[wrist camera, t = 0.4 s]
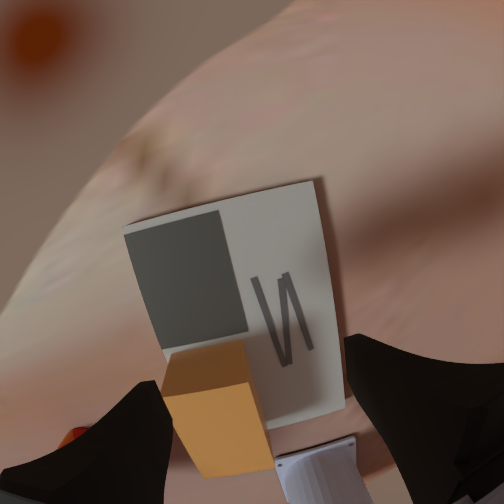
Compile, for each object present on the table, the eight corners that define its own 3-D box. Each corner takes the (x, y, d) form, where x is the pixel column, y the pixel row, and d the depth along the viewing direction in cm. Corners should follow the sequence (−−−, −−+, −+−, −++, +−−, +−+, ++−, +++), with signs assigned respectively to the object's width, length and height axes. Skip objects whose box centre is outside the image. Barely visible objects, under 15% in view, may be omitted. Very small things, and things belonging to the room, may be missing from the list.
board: (341, 400, 23) (345, 408, 22) (203, 433, 23) (203, 442, 22) (308, 180, 19) (313, 180, 18) (126, 225, 19) (121, 227, 18)
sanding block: (266, 421, 22) (275, 467, 17) (205, 433, 21) (204, 478, 17) (242, 338, 20) (248, 382, 15) (171, 353, 20) (158, 397, 15)
